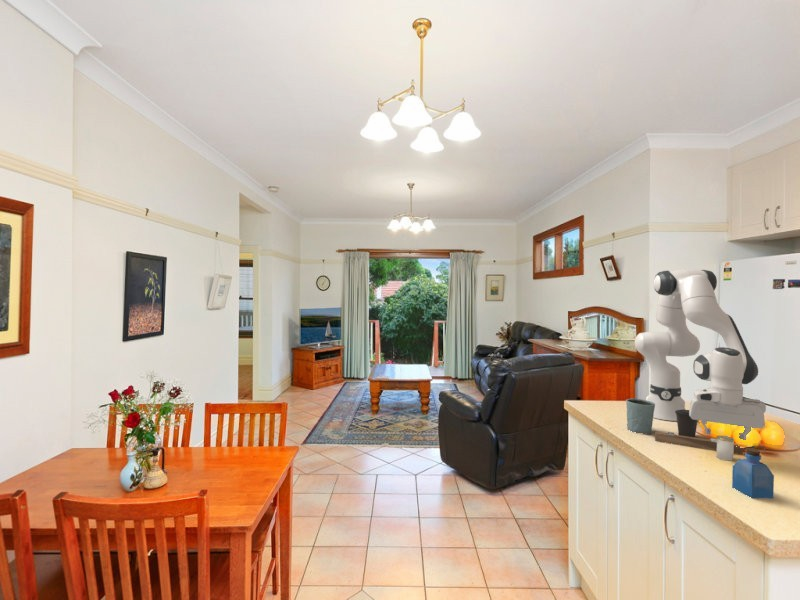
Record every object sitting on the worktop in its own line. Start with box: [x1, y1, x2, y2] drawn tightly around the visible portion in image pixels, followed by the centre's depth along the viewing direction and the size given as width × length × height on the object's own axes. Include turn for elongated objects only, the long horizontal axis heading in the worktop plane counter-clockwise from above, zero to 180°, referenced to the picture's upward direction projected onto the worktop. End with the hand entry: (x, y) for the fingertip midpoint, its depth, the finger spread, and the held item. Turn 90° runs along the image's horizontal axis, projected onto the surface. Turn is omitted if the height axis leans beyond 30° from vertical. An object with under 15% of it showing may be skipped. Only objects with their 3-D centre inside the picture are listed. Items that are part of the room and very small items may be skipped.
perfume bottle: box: [731, 447, 775, 499], centre depth 115 cm, size 6×6×12 cm
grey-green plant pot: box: [625, 398, 655, 435], centre depth 168 cm, size 10×10×12 cm
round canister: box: [716, 435, 734, 462], centre depth 140 cm, size 4×4×7 cm
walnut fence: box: [654, 431, 744, 456], centre depth 151 cm, size 2×26×4 cm, turn 60°
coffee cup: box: [675, 409, 699, 438], centre depth 163 cm, size 8×8×10 cm
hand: (724, 436), depth 141 cm, fingers open, 8 cm apart
